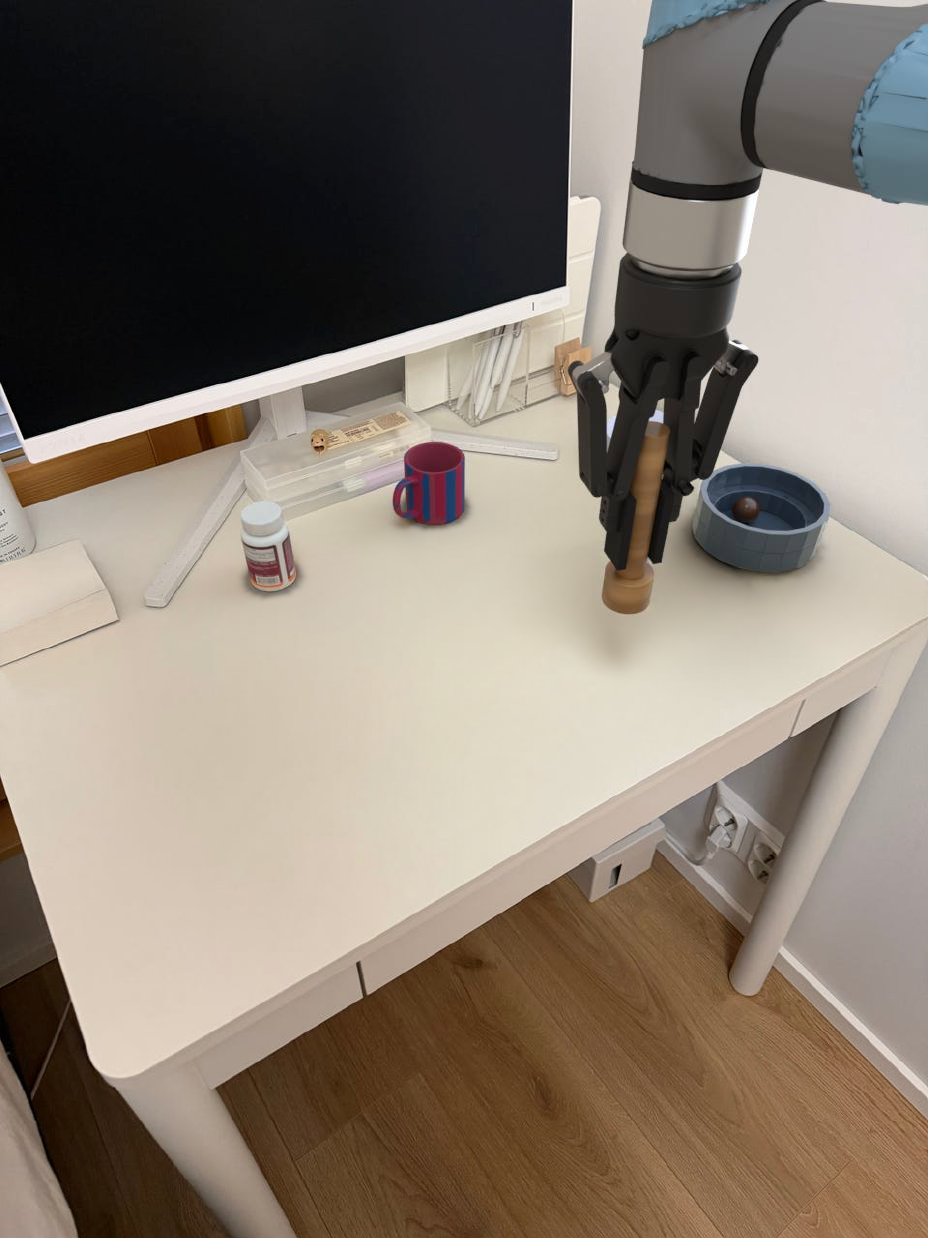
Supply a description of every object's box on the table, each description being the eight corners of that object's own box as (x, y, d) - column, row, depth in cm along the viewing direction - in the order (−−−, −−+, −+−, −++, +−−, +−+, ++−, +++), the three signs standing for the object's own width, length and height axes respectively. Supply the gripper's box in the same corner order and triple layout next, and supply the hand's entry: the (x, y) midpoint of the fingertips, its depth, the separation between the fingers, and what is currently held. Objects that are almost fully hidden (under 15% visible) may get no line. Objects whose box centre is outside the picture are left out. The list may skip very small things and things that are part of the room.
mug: (476, 508, 99) (477, 457, 94) (412, 545, 94) (410, 493, 89) (436, 485, 102) (435, 434, 98) (372, 519, 97) (368, 468, 93)
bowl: (840, 564, 92) (856, 522, 88) (727, 586, 89) (739, 543, 85) (774, 496, 101) (786, 455, 97) (670, 513, 98) (679, 472, 95)
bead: (761, 526, 96) (768, 504, 94) (737, 530, 95) (743, 508, 93) (747, 511, 98) (754, 489, 96) (724, 515, 97) (729, 493, 95)
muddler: (657, 609, 71) (691, 438, 60) (612, 618, 70) (639, 446, 59) (637, 580, 74) (666, 411, 63) (594, 588, 73) (616, 419, 62)
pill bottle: (277, 558, 92) (265, 492, 86) (305, 577, 90) (295, 511, 84) (240, 578, 89) (226, 512, 84) (269, 599, 87) (256, 532, 81)
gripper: (761, 226, 58) (697, 515, 73) (543, 248, 54) (526, 545, 70) (825, 265, 52) (742, 568, 68) (588, 291, 49) (558, 603, 65)
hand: (632, 556), depth 69 cm, fingers closed on muddler, 2 cm apart
